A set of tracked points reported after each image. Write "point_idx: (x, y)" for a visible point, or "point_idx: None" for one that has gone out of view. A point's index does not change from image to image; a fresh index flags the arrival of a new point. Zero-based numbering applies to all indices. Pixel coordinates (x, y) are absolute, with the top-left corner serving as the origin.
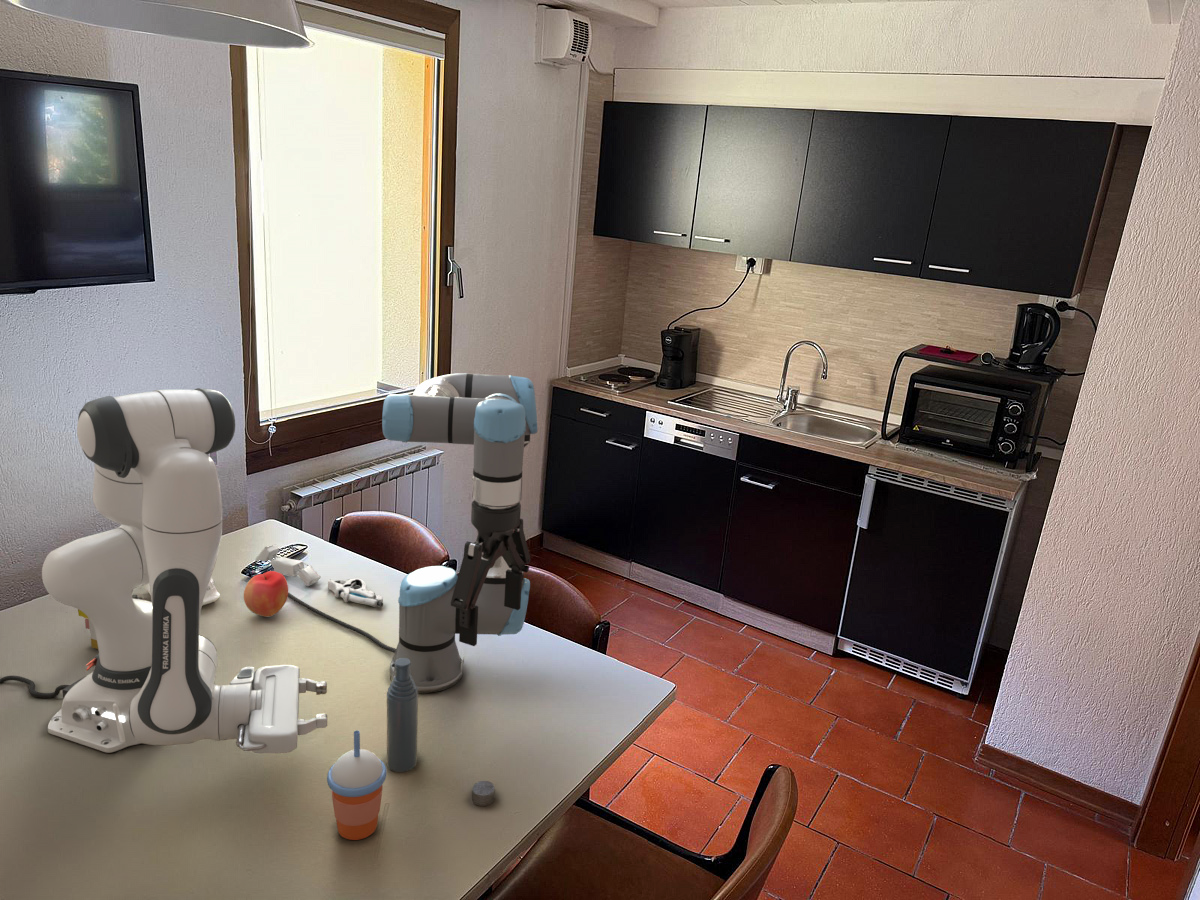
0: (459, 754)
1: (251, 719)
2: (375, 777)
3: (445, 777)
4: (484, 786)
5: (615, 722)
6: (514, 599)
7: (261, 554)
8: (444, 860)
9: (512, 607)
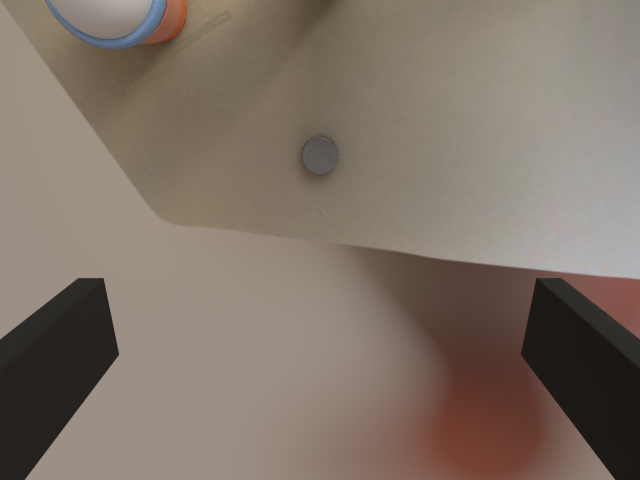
0: (400, 51)
1: None
2: (101, 36)
3: (334, 66)
4: (323, 156)
5: (590, 249)
6: (556, 369)
7: None
8: (185, 172)
9: (531, 327)
